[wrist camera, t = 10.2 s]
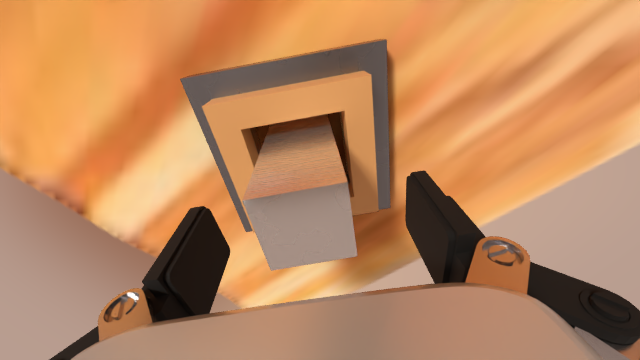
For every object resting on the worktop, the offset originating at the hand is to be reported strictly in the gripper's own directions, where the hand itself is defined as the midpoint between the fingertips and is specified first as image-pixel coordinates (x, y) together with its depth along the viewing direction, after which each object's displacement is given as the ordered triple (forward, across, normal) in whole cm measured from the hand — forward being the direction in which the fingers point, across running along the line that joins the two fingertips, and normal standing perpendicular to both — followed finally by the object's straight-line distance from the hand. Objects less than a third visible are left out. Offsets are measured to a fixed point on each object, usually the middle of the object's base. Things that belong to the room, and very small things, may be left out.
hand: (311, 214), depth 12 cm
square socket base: (+9, +1, 0) cm, 9 cm away
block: (+9, 0, 0) cm, 9 cm away
